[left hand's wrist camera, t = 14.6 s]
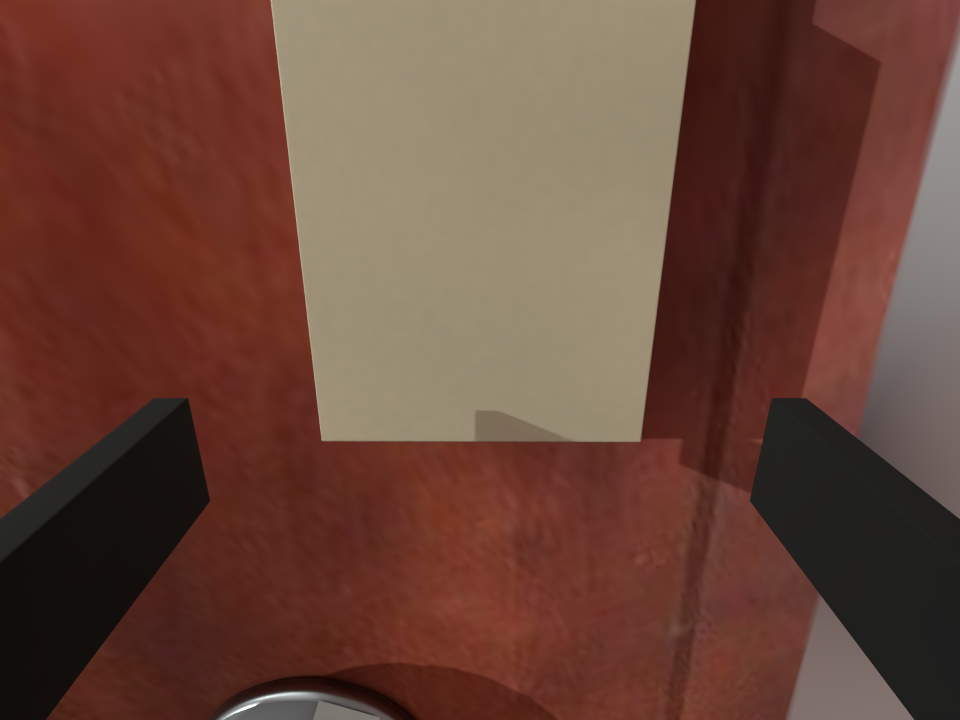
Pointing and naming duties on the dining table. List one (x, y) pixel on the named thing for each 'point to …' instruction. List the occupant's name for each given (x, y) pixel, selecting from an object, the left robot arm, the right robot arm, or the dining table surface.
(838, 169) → the dining table surface
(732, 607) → the dining table surface
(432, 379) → the cream rectangular box
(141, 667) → the dining table surface
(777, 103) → the dining table surface
